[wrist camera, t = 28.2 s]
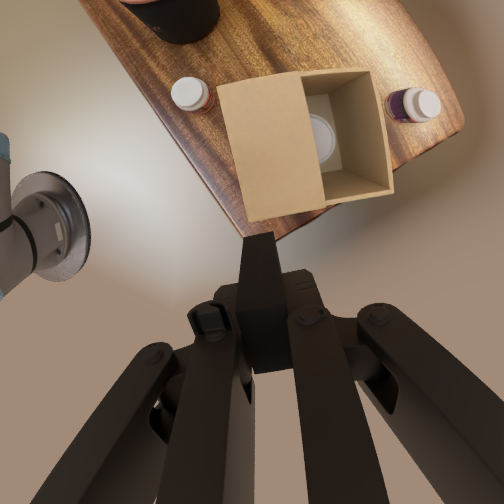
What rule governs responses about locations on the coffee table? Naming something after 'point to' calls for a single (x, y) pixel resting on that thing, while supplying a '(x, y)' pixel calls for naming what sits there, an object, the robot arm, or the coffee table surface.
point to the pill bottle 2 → (412, 105)
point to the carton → (351, 132)
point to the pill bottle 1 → (192, 95)
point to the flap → (272, 145)
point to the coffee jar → (176, 17)
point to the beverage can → (323, 137)
